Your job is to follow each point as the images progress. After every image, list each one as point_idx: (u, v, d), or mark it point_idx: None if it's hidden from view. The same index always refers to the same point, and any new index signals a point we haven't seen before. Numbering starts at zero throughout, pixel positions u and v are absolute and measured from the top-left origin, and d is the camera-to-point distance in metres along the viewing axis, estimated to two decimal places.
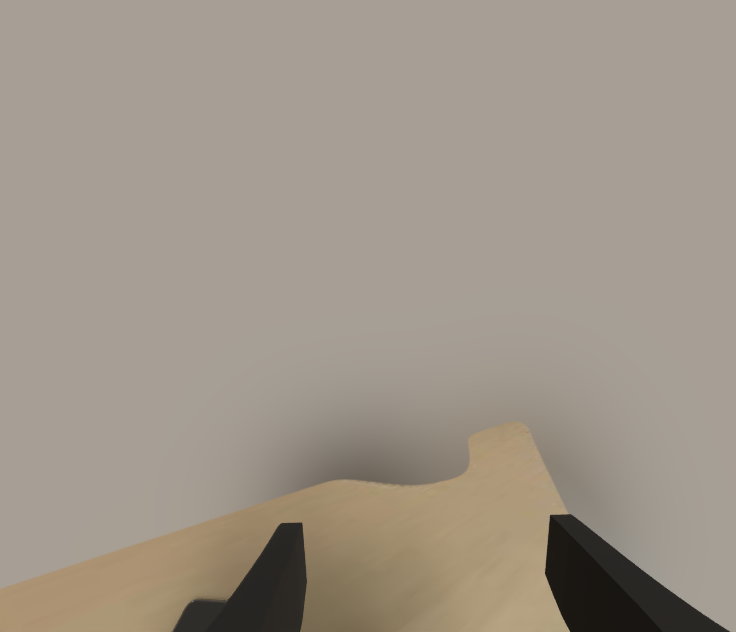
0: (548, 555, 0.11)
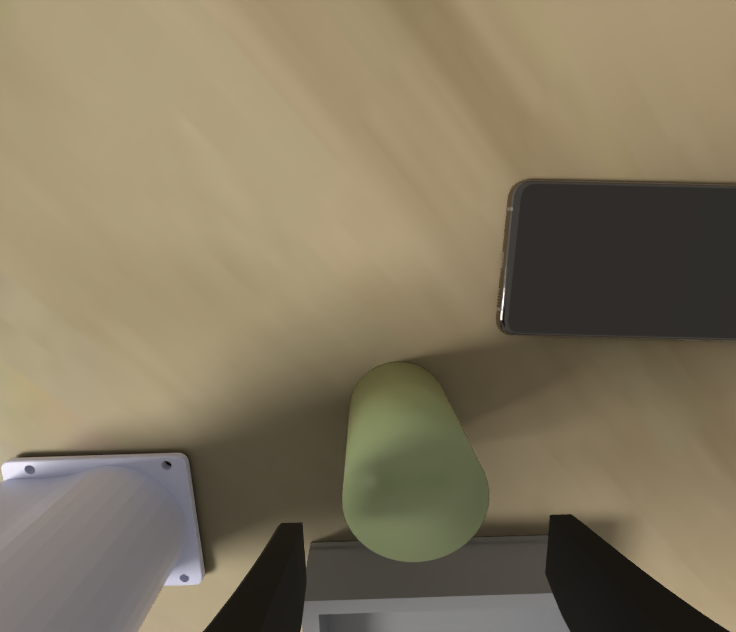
0: (548, 555, 0.11)
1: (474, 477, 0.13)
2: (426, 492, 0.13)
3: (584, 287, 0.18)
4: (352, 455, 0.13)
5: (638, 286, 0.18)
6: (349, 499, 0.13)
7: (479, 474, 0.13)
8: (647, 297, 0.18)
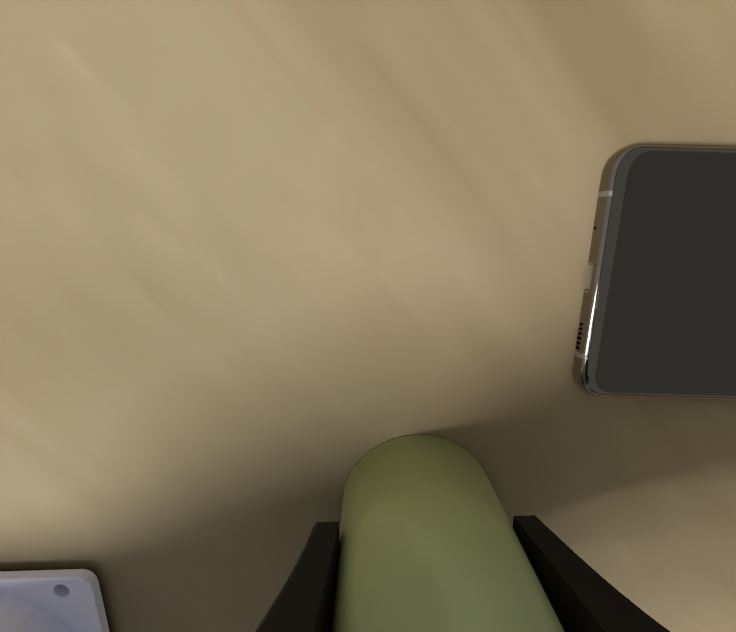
0: None
1: None
2: None
3: (722, 322, 0.11)
4: None
5: None
6: None
7: None
8: None
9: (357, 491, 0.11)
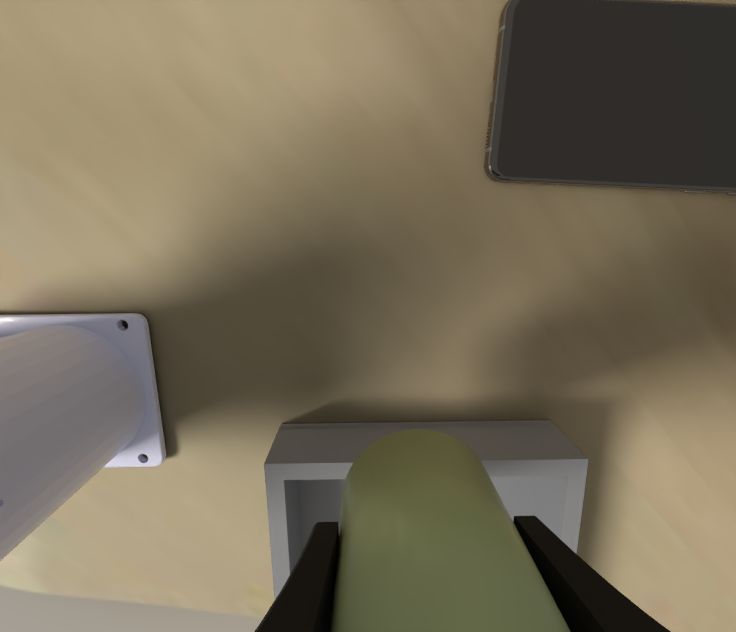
0: None
1: None
2: None
3: (581, 123, 0.16)
4: None
5: (640, 123, 0.16)
6: None
7: None
8: (650, 136, 0.17)
9: (356, 485, 0.11)
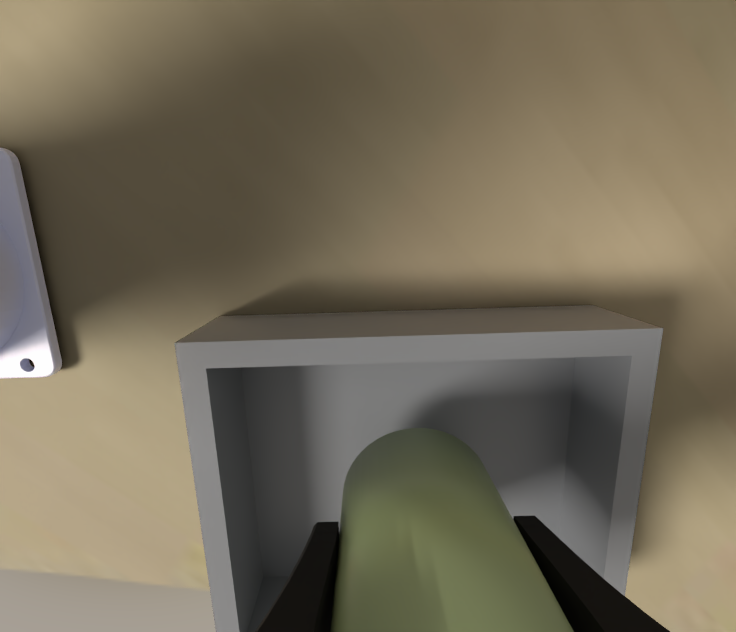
0: None
1: None
2: None
3: None
4: None
5: None
6: None
7: None
8: None
9: (356, 483, 0.11)
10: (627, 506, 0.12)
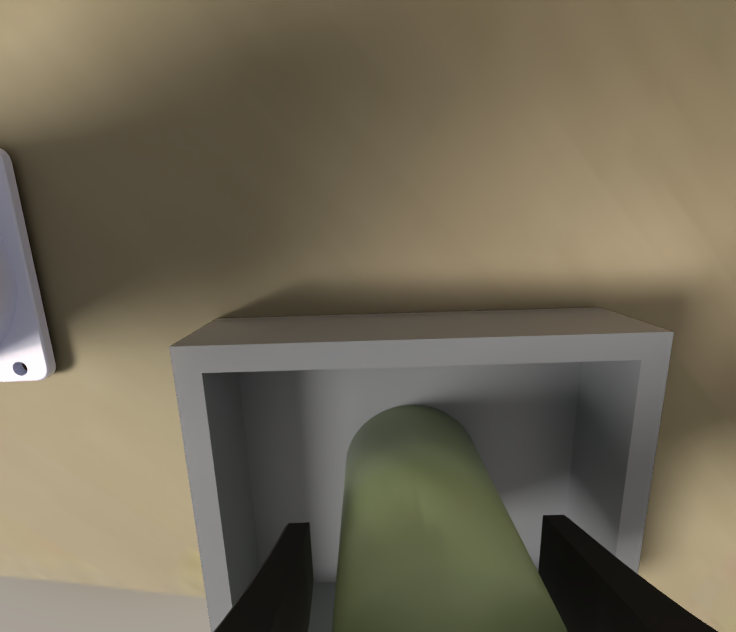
0: (541, 555, 0.11)
1: None
2: None
3: None
4: (345, 589, 0.08)
5: None
6: None
7: (556, 628, 0.08)
8: None
9: (358, 452, 0.13)
10: (635, 515, 0.12)
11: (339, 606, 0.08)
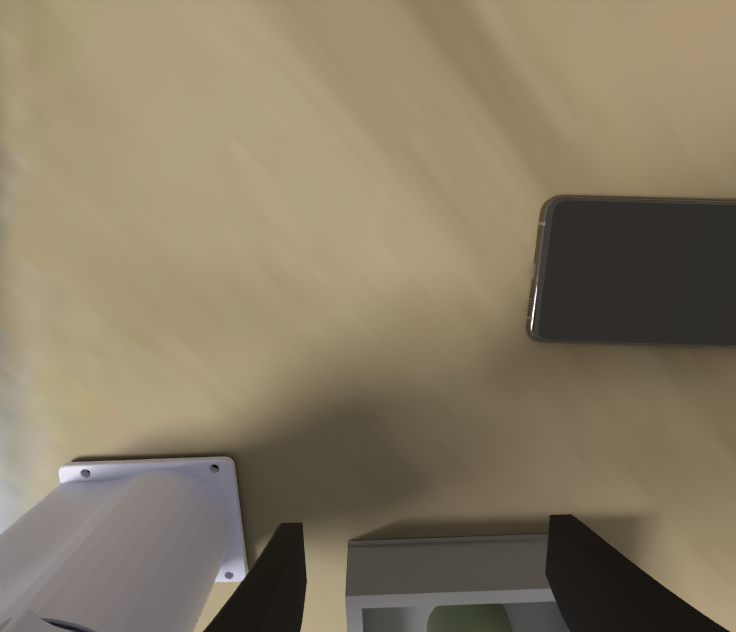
0: (548, 555, 0.11)
1: None
2: None
3: (611, 297, 0.19)
4: None
5: (662, 296, 0.19)
6: None
7: None
8: (670, 307, 0.19)
9: None
10: None
11: None
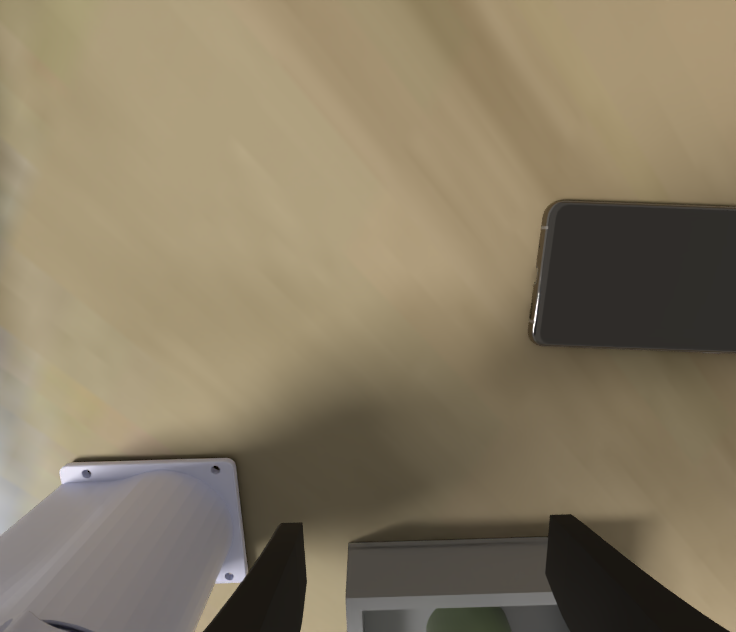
0: (548, 555, 0.11)
1: None
2: None
3: (613, 302, 0.19)
4: None
5: (664, 301, 0.19)
6: None
7: None
8: (672, 312, 0.19)
9: None
10: None
11: None
